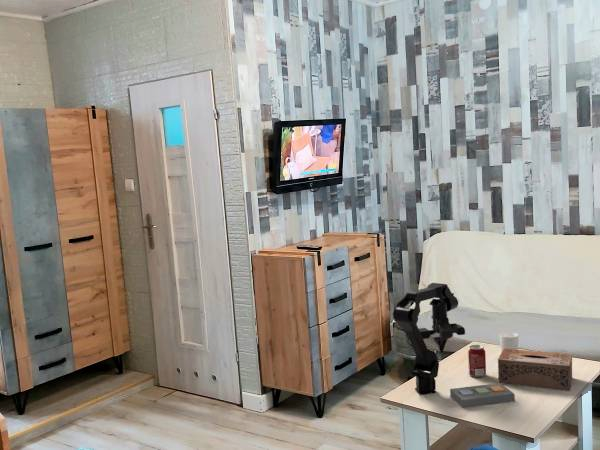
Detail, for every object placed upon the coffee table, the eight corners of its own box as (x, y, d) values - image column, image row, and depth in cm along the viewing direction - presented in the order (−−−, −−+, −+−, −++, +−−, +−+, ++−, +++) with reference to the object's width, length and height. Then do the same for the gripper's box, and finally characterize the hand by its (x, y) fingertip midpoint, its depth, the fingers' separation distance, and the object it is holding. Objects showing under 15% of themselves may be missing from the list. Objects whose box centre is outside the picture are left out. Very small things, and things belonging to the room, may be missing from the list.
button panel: (462, 408, 217) (462, 400, 216) (450, 396, 228) (450, 388, 227) (514, 401, 220) (514, 393, 219) (500, 390, 231) (499, 383, 230)
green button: (479, 400, 221) (478, 392, 221) (474, 396, 225) (474, 388, 225) (489, 399, 222) (489, 391, 222) (484, 395, 226) (484, 387, 226)
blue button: (463, 402, 220) (463, 394, 220) (459, 398, 224) (458, 390, 224) (474, 401, 221) (473, 393, 221) (469, 397, 225) (469, 389, 225)
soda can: (486, 378, 244) (486, 349, 242) (469, 378, 245) (468, 349, 244) (485, 372, 250) (484, 344, 249) (468, 372, 252) (467, 344, 250)
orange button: (494, 398, 222) (494, 390, 222) (489, 394, 226) (489, 386, 226) (504, 397, 223) (504, 389, 222) (499, 393, 227) (499, 385, 226)
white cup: (501, 359, 264) (501, 337, 263) (498, 353, 272) (498, 332, 271) (520, 359, 263) (520, 337, 262) (517, 353, 271) (516, 332, 270)
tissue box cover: (498, 383, 238) (497, 359, 237) (504, 371, 251) (503, 348, 250) (570, 391, 226) (569, 366, 225) (572, 378, 239) (571, 354, 238)
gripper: (424, 321, 231) (426, 361, 233) (470, 317, 234) (471, 356, 235) (414, 314, 242) (416, 352, 244) (458, 310, 245) (459, 347, 246)
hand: (441, 352), depth 242 cm, fingers closed
